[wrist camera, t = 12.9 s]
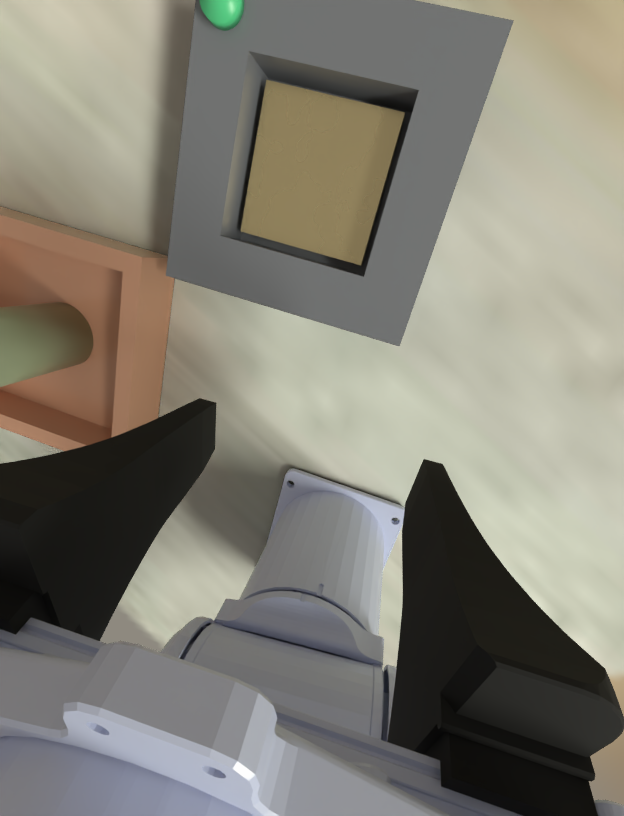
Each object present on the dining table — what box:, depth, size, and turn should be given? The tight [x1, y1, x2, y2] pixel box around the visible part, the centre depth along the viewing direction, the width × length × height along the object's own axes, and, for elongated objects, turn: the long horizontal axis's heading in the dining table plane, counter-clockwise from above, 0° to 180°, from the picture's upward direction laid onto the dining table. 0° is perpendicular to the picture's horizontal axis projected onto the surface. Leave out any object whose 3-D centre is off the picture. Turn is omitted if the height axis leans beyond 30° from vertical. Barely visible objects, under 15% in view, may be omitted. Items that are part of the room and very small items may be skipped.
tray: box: [0, 206, 174, 451], centre depth 24 cm, size 13×13×3 cm
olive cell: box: [0, 302, 93, 387], centre depth 21 cm, size 4×4×9 cm
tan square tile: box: [240, 80, 405, 265], centre depth 18 cm, size 6×6×1 cm
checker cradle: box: [166, 0, 513, 346], centre depth 18 cm, size 12×12×4 cm
